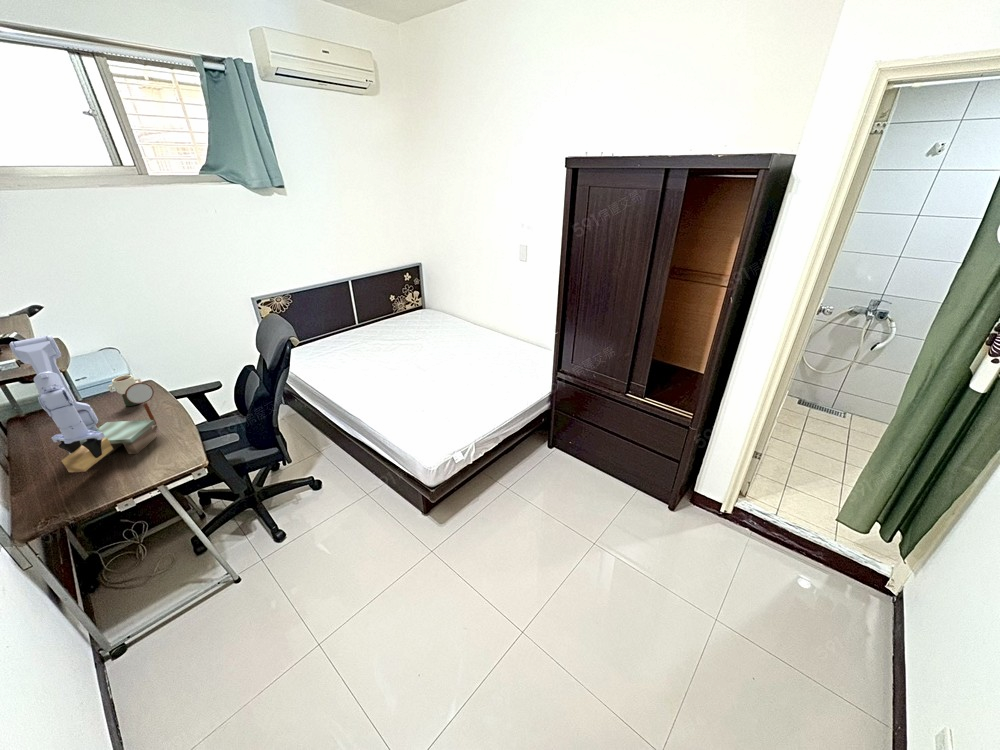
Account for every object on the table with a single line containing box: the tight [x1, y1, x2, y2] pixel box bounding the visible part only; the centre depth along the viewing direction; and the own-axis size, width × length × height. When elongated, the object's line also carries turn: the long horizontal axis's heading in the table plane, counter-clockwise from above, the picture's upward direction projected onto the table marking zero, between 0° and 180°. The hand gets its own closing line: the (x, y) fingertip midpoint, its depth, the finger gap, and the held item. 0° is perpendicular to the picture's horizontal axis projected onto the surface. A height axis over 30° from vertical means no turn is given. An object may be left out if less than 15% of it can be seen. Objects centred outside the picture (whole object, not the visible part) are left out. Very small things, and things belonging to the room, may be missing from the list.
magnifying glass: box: [125, 382, 157, 427], centre depth 159 cm, size 9×2×20 cm, turn 145°
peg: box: [61, 438, 113, 473], centre depth 135 cm, size 5×12×5 cm, turn 5°
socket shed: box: [80, 419, 157, 456], centre depth 149 cm, size 17×12×8 cm
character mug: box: [107, 374, 143, 407], centre depth 176 cm, size 11×7×13 cm, turn 134°
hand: (90, 456), depth 136 cm, fingers closed on peg, 5 cm apart
